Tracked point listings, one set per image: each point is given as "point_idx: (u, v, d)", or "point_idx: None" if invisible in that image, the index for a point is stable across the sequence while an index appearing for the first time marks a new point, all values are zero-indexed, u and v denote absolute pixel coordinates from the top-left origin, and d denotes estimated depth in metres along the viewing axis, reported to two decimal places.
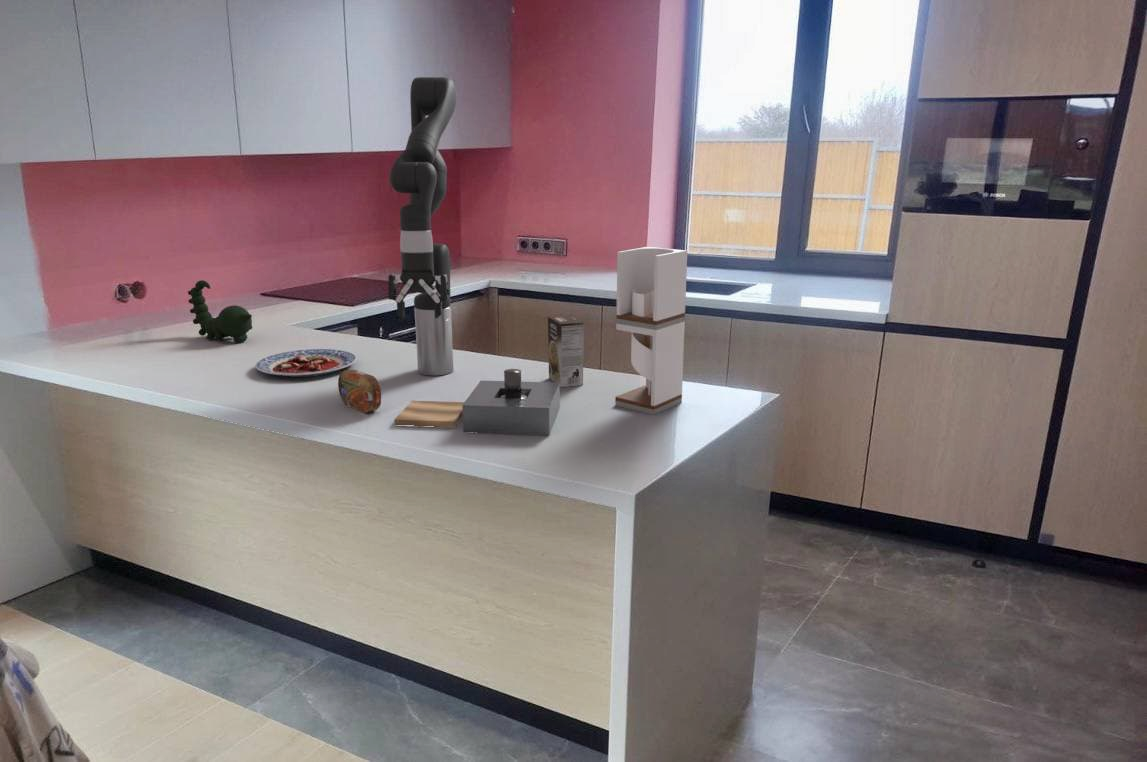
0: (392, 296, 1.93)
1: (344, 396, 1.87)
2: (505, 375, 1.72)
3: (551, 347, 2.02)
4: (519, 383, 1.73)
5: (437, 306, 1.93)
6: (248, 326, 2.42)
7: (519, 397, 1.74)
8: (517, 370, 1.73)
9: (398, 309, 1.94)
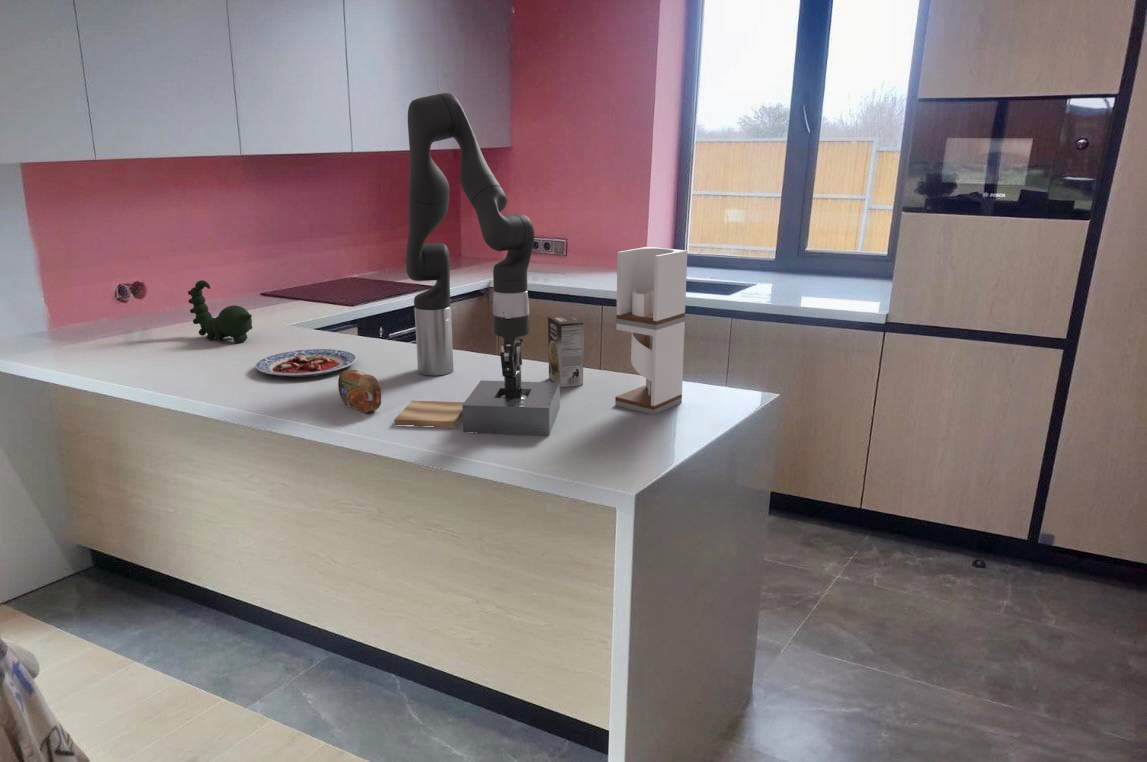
0: (514, 372, 1.69)
1: (344, 396, 1.87)
2: None
3: (551, 347, 2.02)
4: (519, 383, 1.73)
5: None
6: (248, 326, 2.42)
7: (519, 397, 1.74)
8: (517, 370, 1.73)
9: (513, 385, 1.71)
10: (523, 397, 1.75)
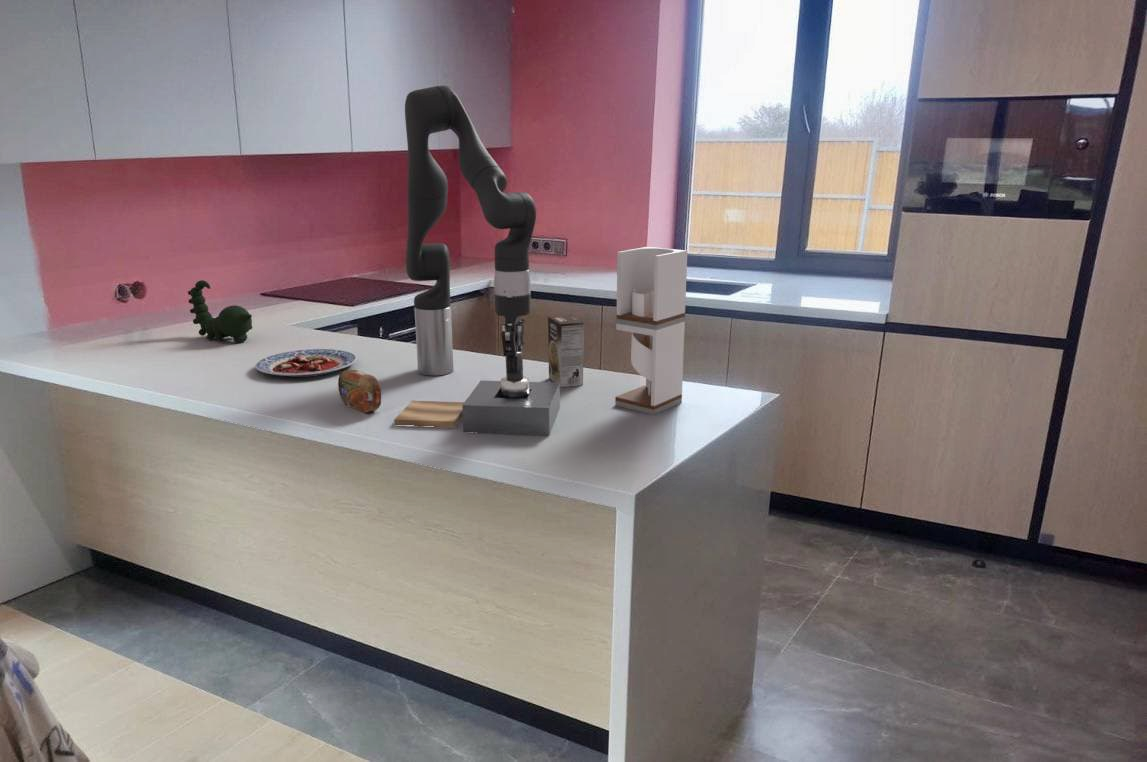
0: (515, 351, 1.68)
1: (344, 396, 1.87)
2: None
3: (551, 347, 2.02)
4: (521, 364, 1.72)
5: None
6: (248, 326, 2.42)
7: (521, 378, 1.73)
8: (518, 351, 1.73)
9: (515, 365, 1.70)
10: (525, 378, 1.74)
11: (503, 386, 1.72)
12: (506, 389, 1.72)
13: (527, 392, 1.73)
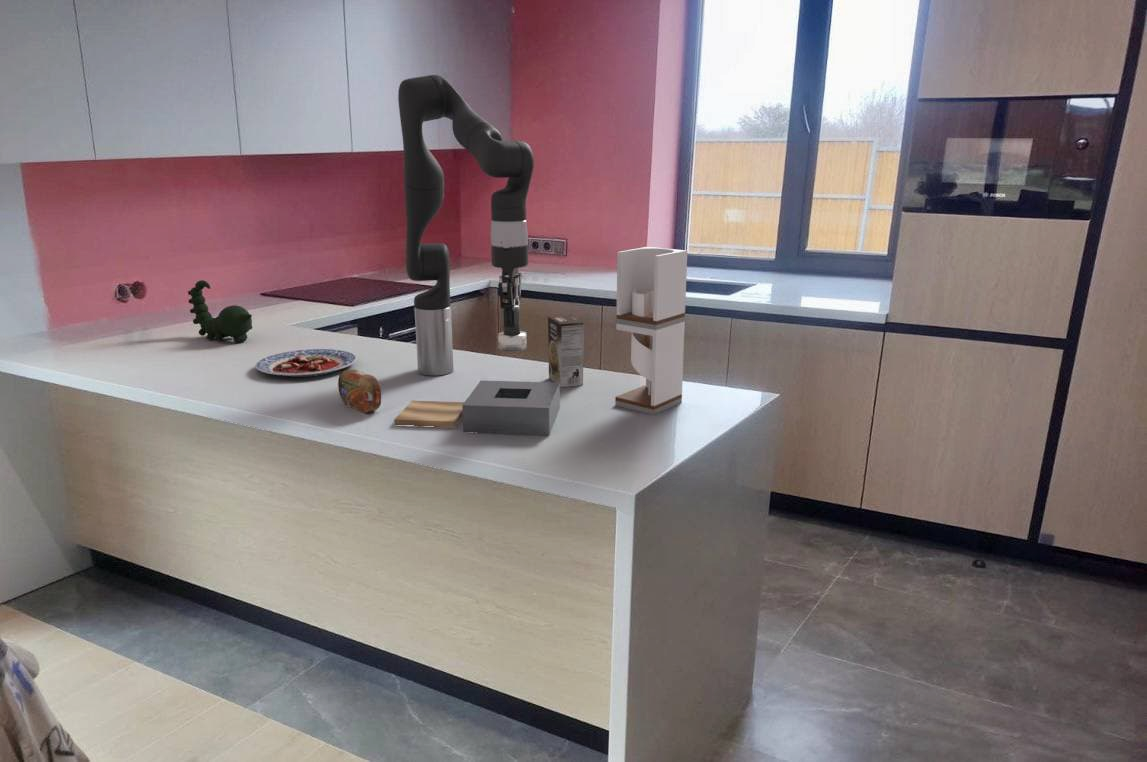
0: None
1: (344, 396, 1.87)
2: (503, 310, 1.68)
3: (551, 347, 2.02)
4: (518, 318, 1.69)
5: None
6: (248, 326, 2.42)
7: (518, 332, 1.70)
8: (515, 305, 1.70)
9: (512, 318, 1.67)
10: (522, 333, 1.71)
11: (500, 340, 1.69)
12: (504, 344, 1.69)
13: (524, 347, 1.70)
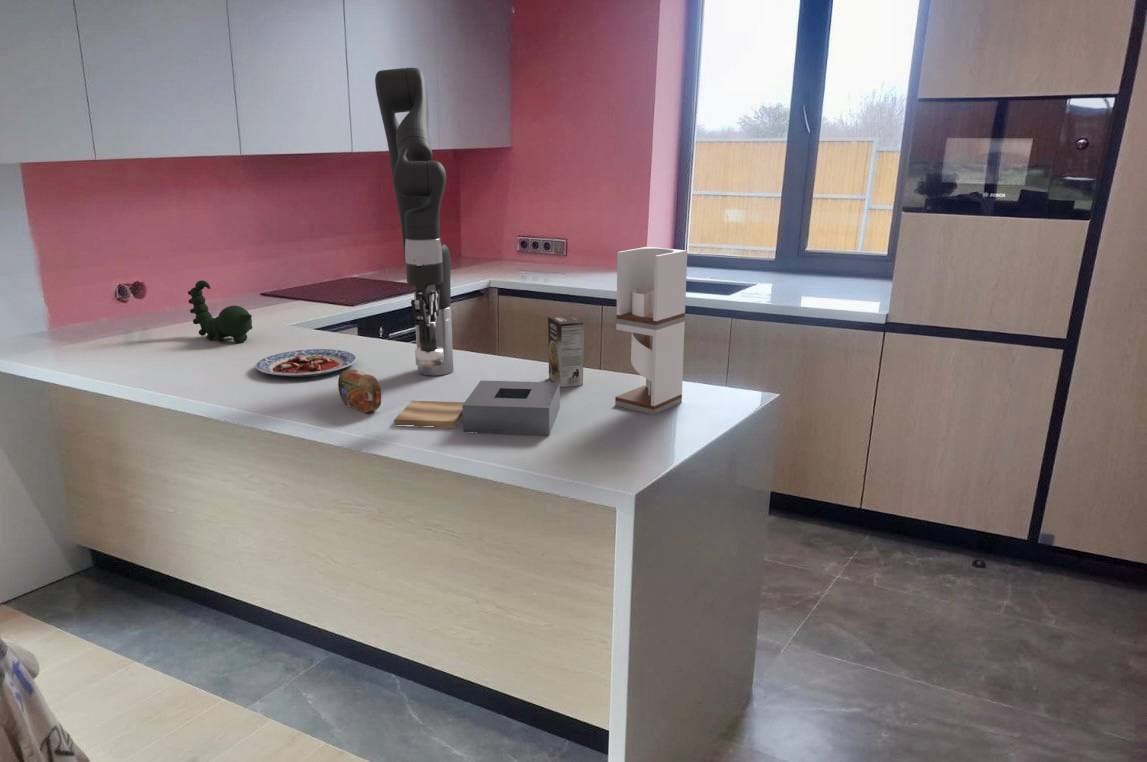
0: (427, 320, 1.68)
1: (344, 396, 1.87)
2: None
3: (551, 347, 2.02)
4: (434, 334, 1.72)
5: None
6: (248, 326, 2.42)
7: (435, 348, 1.73)
8: (432, 321, 1.72)
9: (427, 334, 1.70)
10: (439, 348, 1.74)
11: (416, 356, 1.72)
12: (420, 359, 1.72)
13: (441, 362, 1.73)
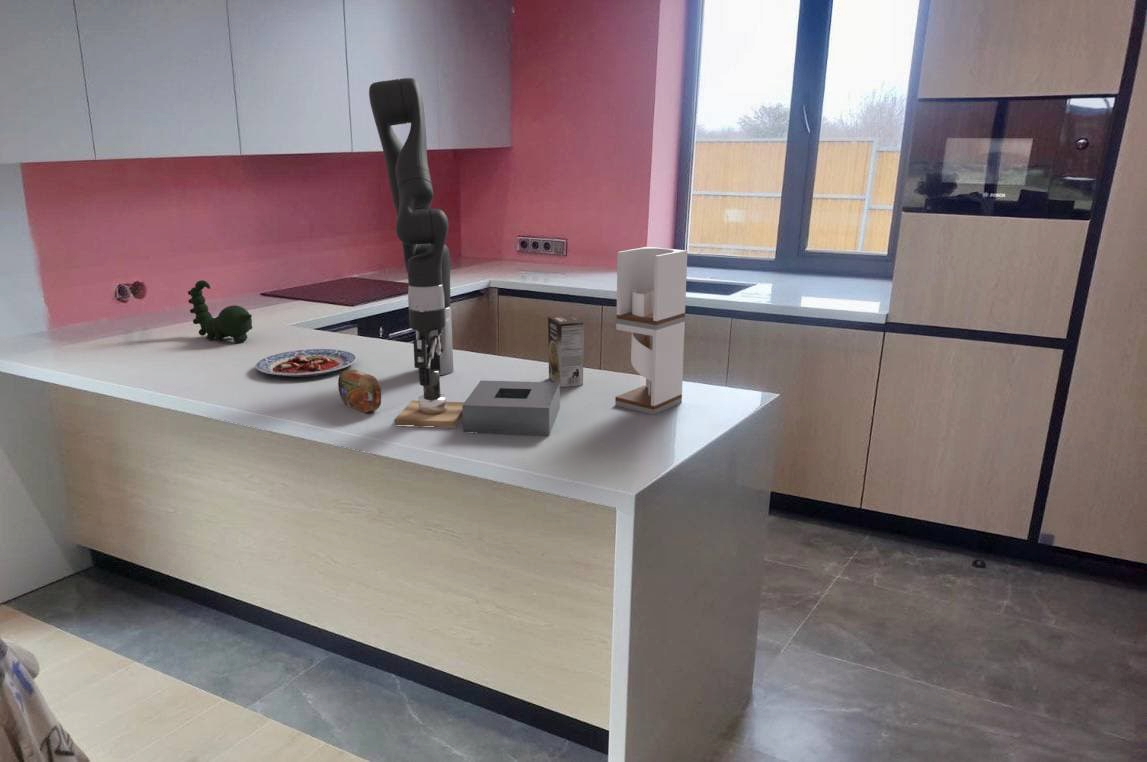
0: None
1: (344, 396, 1.87)
2: None
3: (551, 347, 2.02)
4: (437, 383, 1.75)
5: None
6: (248, 326, 2.42)
7: (438, 397, 1.76)
8: (435, 370, 1.75)
9: (427, 377, 1.70)
10: (442, 397, 1.77)
11: (420, 404, 1.75)
12: (423, 407, 1.75)
13: (444, 410, 1.76)
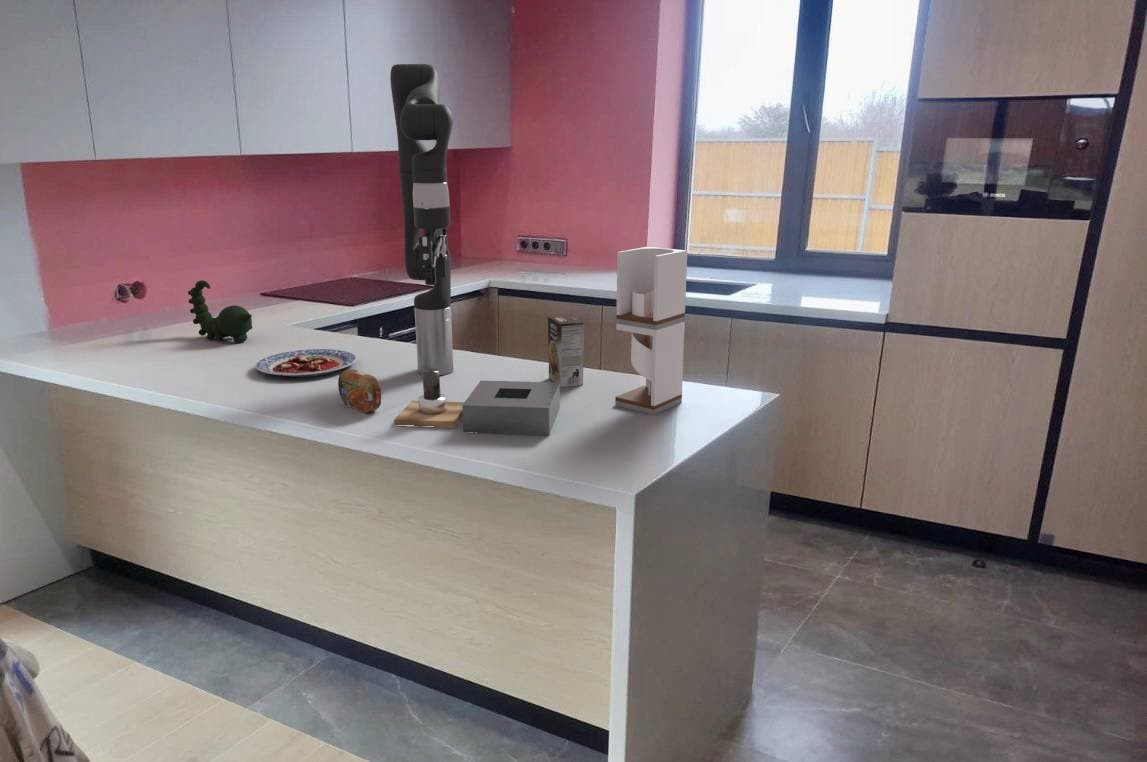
0: None
1: (344, 396, 1.87)
2: (423, 375, 1.74)
3: (551, 347, 2.02)
4: (437, 383, 1.75)
5: None
6: (248, 326, 2.42)
7: (438, 397, 1.76)
8: (435, 370, 1.75)
9: (432, 275, 1.70)
10: (442, 397, 1.77)
11: (420, 404, 1.75)
12: (423, 407, 1.75)
13: (444, 410, 1.76)
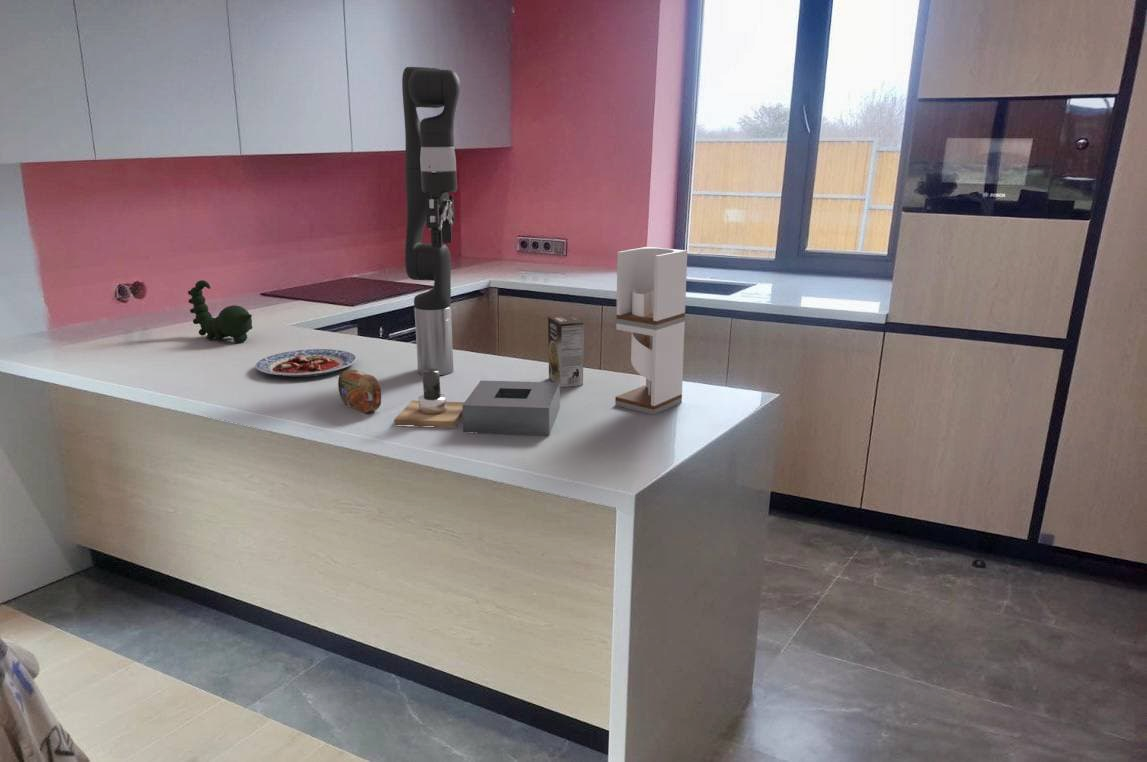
0: None
1: (344, 396, 1.87)
2: (423, 375, 1.74)
3: (551, 347, 2.02)
4: (437, 383, 1.75)
5: None
6: (248, 326, 2.42)
7: (438, 397, 1.76)
8: (435, 370, 1.75)
9: (438, 238, 1.73)
10: (442, 397, 1.77)
11: (420, 404, 1.75)
12: (423, 407, 1.75)
13: (444, 410, 1.76)
